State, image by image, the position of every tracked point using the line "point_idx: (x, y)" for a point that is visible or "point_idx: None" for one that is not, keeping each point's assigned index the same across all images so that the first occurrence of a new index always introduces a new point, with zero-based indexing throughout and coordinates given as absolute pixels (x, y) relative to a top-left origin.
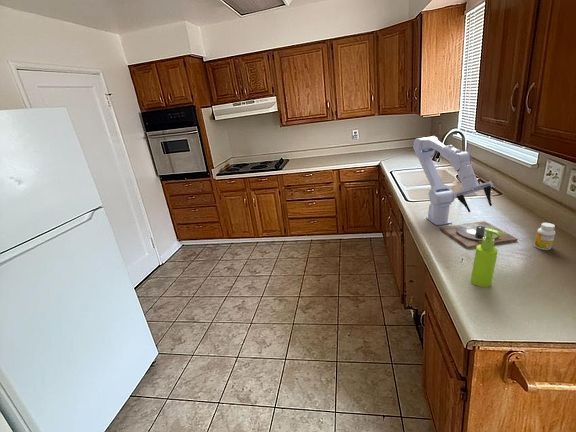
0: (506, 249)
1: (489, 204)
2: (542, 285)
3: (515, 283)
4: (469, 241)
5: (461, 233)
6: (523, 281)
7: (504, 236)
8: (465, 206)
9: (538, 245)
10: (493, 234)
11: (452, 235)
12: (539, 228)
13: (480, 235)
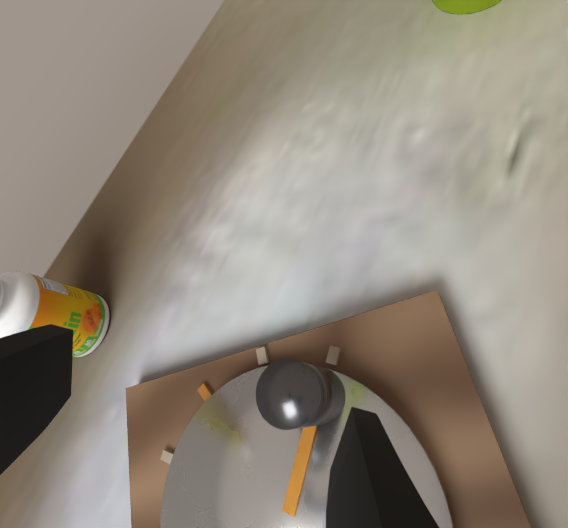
0: (228, 296)
1: (61, 334)
2: (256, 39)
3: (335, 21)
4: (400, 367)
5: (431, 490)
6: (301, 43)
7: (165, 426)
8: (417, 491)
9: (97, 305)
10: (213, 434)
11: (515, 500)
12: (6, 327)
13: (314, 365)
